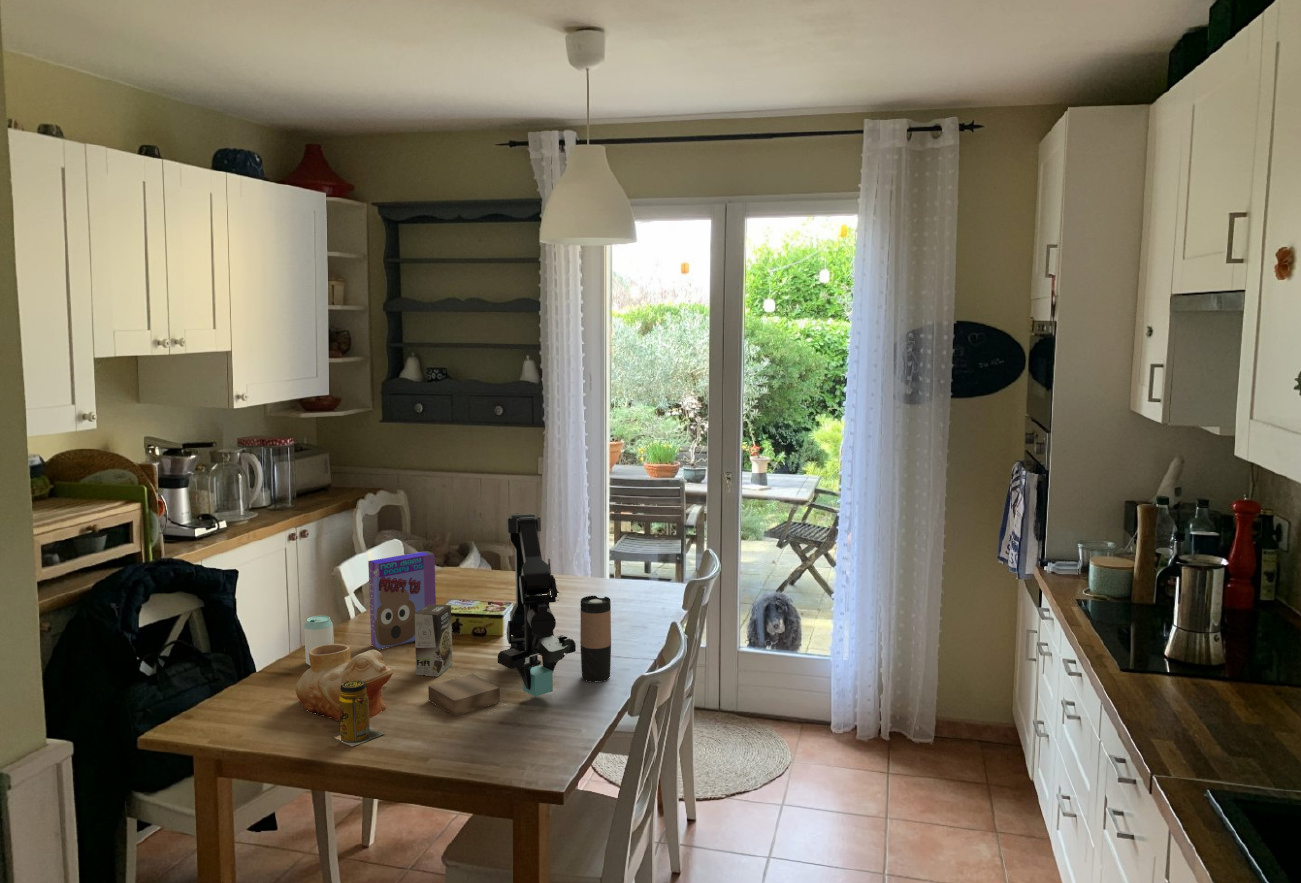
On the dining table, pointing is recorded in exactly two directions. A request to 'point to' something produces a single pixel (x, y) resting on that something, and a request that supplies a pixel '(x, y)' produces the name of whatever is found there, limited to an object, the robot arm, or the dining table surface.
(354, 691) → the condiment
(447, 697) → the walnut block
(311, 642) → the can
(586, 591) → the dining table surface
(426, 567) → the cereal box
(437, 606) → the coffee box
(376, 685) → the ceramic vessel
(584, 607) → the travel mug
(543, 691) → the teal block
